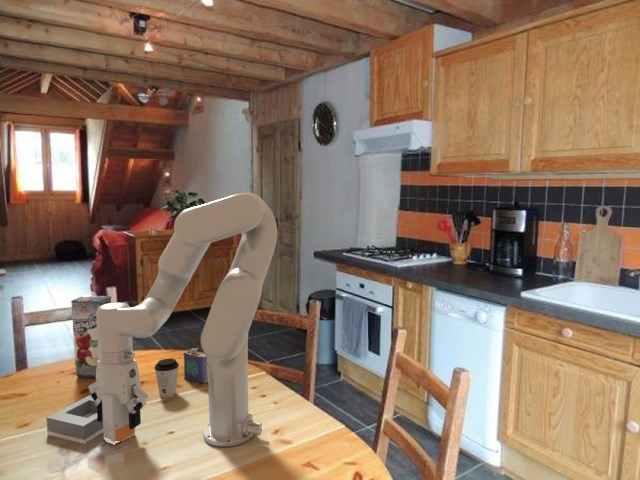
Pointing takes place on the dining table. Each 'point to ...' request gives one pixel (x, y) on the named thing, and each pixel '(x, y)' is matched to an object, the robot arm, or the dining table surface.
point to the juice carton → (86, 333)
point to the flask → (195, 367)
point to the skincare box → (115, 419)
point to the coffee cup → (167, 377)
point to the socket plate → (76, 422)
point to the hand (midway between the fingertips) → (119, 422)
